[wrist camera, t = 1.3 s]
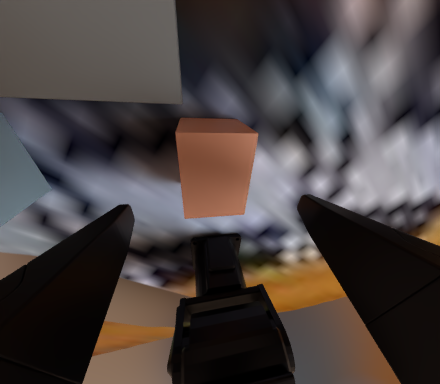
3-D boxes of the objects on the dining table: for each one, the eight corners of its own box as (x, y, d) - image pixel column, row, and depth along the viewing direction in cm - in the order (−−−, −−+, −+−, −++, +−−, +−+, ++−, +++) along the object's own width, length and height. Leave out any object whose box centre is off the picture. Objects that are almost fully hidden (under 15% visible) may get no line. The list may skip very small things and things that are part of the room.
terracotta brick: (230, 182, 16) (244, 214, 12) (186, 183, 15) (184, 218, 11) (236, 118, 13) (258, 133, 9) (180, 117, 12) (175, 132, 8)
